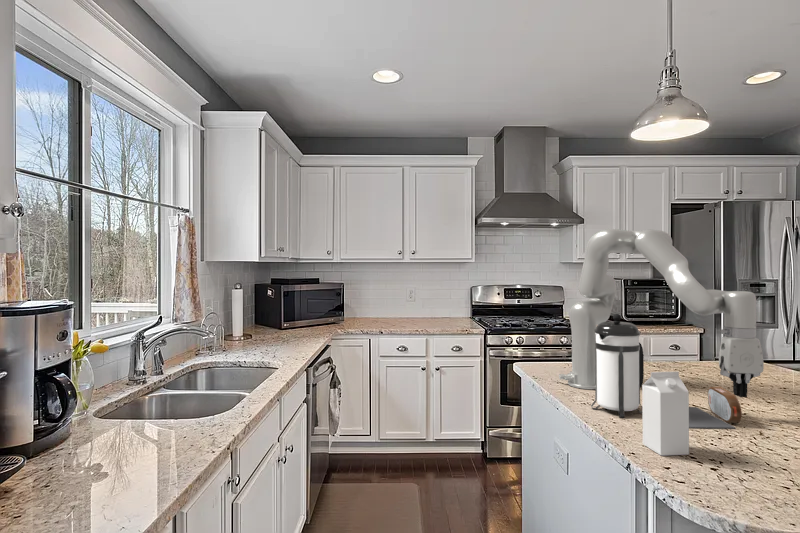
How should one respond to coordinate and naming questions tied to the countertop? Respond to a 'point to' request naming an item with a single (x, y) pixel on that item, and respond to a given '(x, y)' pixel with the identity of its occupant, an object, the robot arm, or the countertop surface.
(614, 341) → the coffee press
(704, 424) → the rubber mat
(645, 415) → the milk carton
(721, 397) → the tin
